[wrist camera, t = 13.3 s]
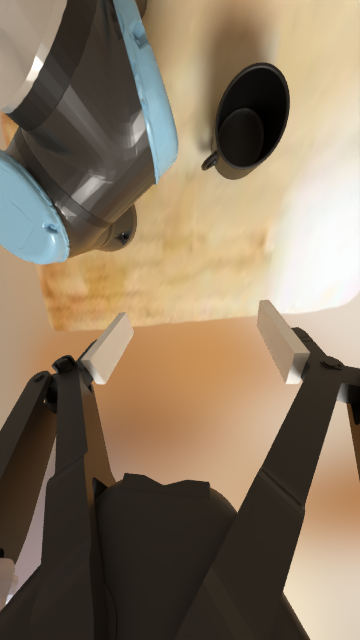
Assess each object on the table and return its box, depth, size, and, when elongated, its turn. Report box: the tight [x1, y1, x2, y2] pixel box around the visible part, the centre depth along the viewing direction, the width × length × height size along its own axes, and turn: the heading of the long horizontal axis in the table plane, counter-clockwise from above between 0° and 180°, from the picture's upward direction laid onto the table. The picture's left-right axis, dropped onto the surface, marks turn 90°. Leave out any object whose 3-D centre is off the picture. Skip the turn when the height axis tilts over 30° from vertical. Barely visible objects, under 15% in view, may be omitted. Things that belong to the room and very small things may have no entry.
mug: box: [201, 63, 290, 180], centre depth 26 cm, size 9×12×9 cm
